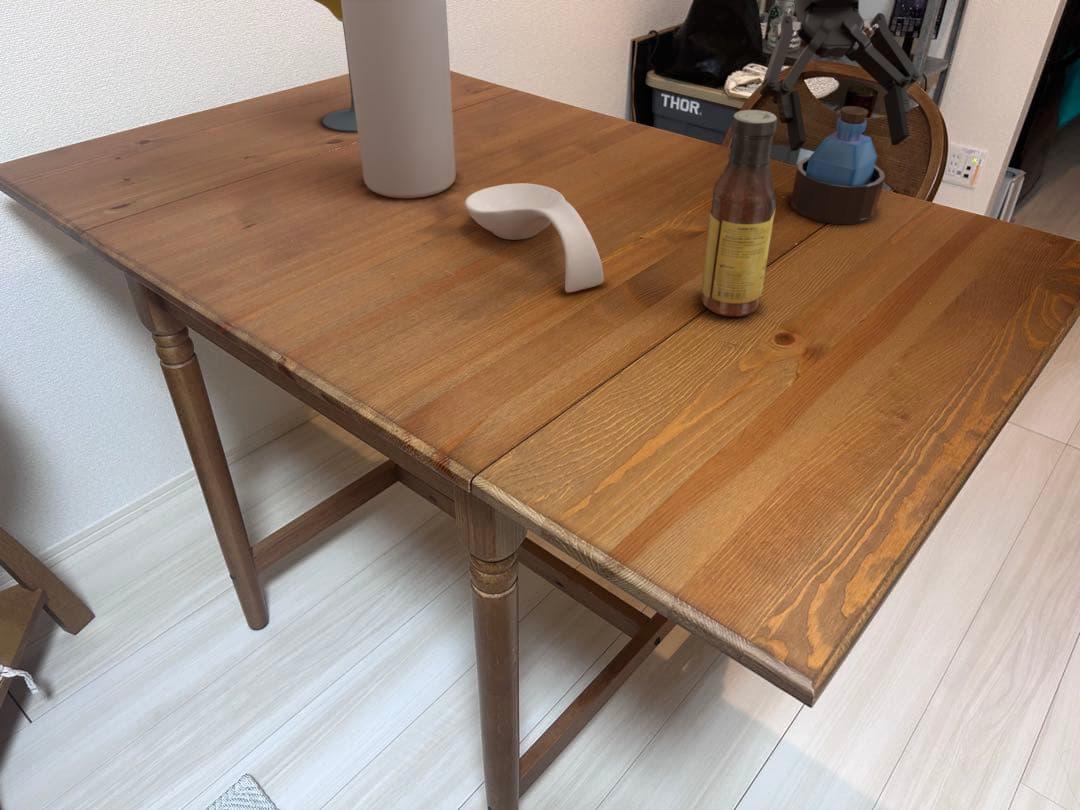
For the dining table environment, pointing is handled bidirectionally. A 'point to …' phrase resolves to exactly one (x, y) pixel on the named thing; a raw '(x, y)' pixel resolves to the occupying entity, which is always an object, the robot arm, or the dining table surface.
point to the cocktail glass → (347, 117)
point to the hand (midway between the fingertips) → (850, 143)
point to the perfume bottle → (845, 152)
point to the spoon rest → (539, 225)
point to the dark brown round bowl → (835, 198)
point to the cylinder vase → (401, 94)
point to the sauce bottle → (741, 219)
